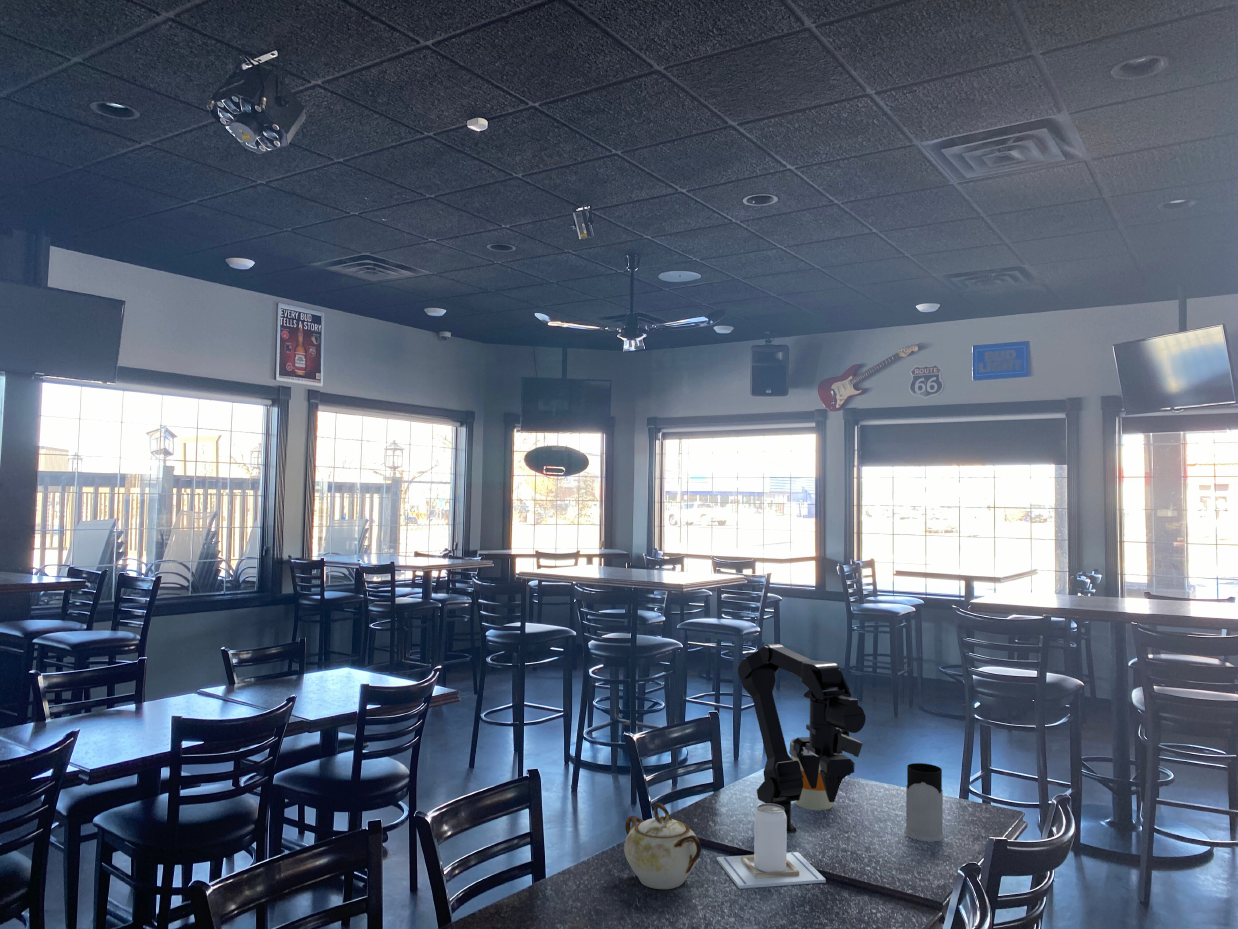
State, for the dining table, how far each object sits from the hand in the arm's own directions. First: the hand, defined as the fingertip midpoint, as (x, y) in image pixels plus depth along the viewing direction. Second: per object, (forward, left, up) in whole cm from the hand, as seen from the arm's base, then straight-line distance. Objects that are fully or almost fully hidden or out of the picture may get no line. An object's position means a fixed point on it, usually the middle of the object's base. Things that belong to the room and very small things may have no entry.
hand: (822, 795), depth 194 cm
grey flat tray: (+8, -15, -12) cm, 21 cm away
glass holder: (-8, +29, -12) cm, 32 cm away
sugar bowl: (+9, -38, -12) cm, 41 cm away
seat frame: (+8, -15, -12) cm, 21 cm away
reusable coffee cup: (-29, +11, -12) cm, 33 cm away
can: (+8, -15, -12) cm, 20 cm away
